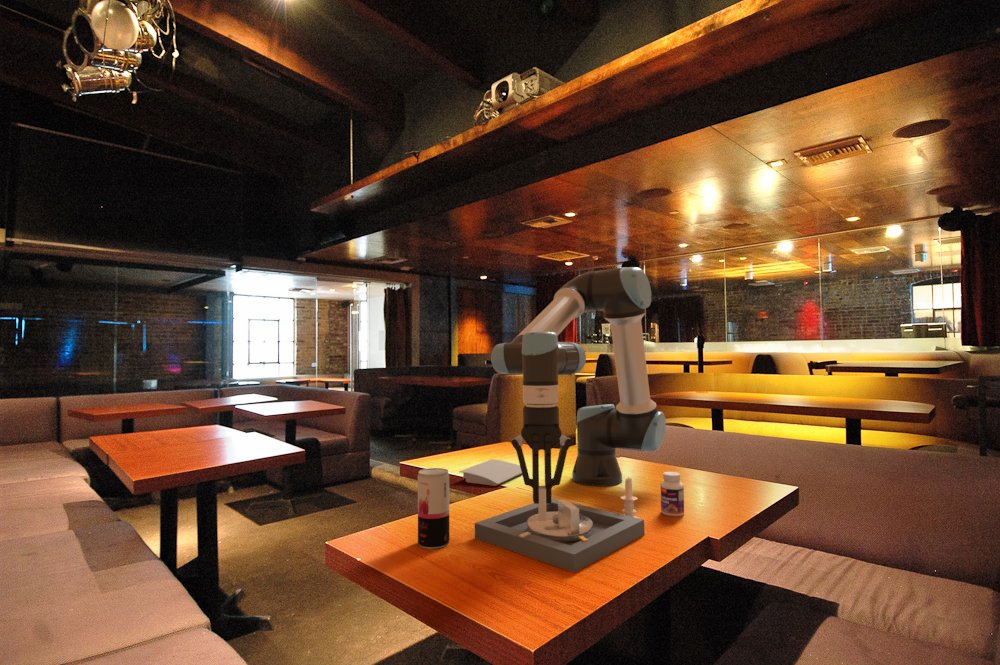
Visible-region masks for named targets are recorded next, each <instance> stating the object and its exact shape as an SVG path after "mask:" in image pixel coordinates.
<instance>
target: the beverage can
mask: <svg viewBox="0 0 1000 665" xmlns="http://www.w3.org/2000/svg"><path fill="white" fill-rule="evenodd" d="M450 537H451V535H450V473H449V469H446V468H441V467H430V468H424V469H420V470H419V471H418V474H417V544H418V545H419V546H420V547H421V548H423V549H427V550H434V549H435V550H436V549H437V550H438V549H442V548H444V547H446V546H447V545H448V544H449V543H450Z"/></svg>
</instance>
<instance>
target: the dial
mask: <svg viewBox="0 0 1000 665" xmlns="http://www.w3.org/2000/svg"><path fill="white" fill-rule="evenodd" d="M572 503H573V502H570V501H569V500H567V499H558V511H553V512H546V521H539V517H538V514H535V515H533V516H531V517H529V518H528V520H527V531H528V532H530V533H531V534H534V535H537V536H540V537H543V538H547V539H550V540H553V541H557V542H560V543H567V542H577V541H581V539H579V538H578V536H584V537H585V538H588V537H590V536H591V535H592V534H593V522H592V520H591V519H590V518H588V517H586V516H584V515H581V514H579V508H577V507H576V506H574V505H573V504H572Z"/></svg>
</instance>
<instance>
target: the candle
mask: <svg viewBox="0 0 1000 665" xmlns="http://www.w3.org/2000/svg"><path fill="white" fill-rule="evenodd" d="M624 481H625V482H624V483H625V484H624V485H625V486H624V488H625V489H624V495H622V496H620V499H621V500H623V501H624V502H623V506H624V508H622V514H623V515H626V516H631V517H635V518H639V519H641V518H640V517H639V516H635V515H636V513H637V510H636V509H635V503H634V502H635V501H637V500H638V497H636V496H635V495H634V496H633V481H632V478H631V477H629V476H628V477H627V478H625V480H624Z"/></svg>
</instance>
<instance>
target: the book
mask: <svg viewBox="0 0 1000 665" xmlns="http://www.w3.org/2000/svg"><path fill="white" fill-rule="evenodd" d="M527 471H528V468H527ZM458 472H459V473H462V474H463V476H462V480H463V481H464V479H465V482H466V483H471V484H477V485H478V484H479V485H485V486H486V485H487V486H493V487H497V486H498V485H500V484H503V483H505V482H507V481H509V480H511V479H513V478H516V477H517V476H520V475H522V471H521V467H520V464H519V465H518V464H516V463H512V462H509V461H504V460H500V459H494V458H491V459H489V460H485V461H483V462H481V463H479V464H476V465H473V466H469V467H467V468H464V469H462V470H460V471H458Z"/></svg>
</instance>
